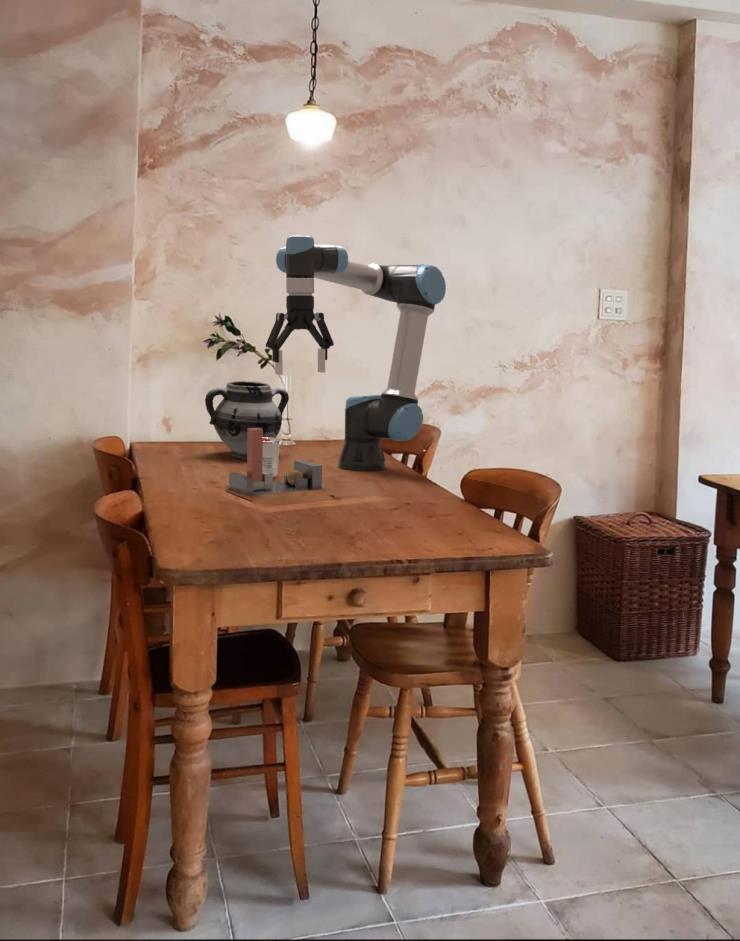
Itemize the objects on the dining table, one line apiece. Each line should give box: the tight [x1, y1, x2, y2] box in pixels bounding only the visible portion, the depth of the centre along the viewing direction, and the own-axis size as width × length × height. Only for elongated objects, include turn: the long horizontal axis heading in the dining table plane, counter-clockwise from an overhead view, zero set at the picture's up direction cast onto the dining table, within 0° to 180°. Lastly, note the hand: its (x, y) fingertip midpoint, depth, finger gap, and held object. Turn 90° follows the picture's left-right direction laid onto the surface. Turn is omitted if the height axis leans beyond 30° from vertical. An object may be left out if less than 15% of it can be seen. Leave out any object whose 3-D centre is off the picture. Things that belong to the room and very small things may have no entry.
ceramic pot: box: [204, 380, 290, 460], centre depth 308 cm, size 29×23×25 cm
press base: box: [225, 459, 328, 502], centre depth 251 cm, size 24×14×8 cm, turn 125°
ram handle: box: [246, 428, 274, 490], centre depth 246 cm, size 7×4×16 cm, turn 125°
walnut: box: [286, 469, 303, 486], centre depth 254 cm, size 4×4×4 cm
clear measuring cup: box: [262, 437, 281, 478], centre depth 268 cm, size 10×8×12 cm
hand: (300, 373), depth 255 cm, fingers open, 13 cm apart
